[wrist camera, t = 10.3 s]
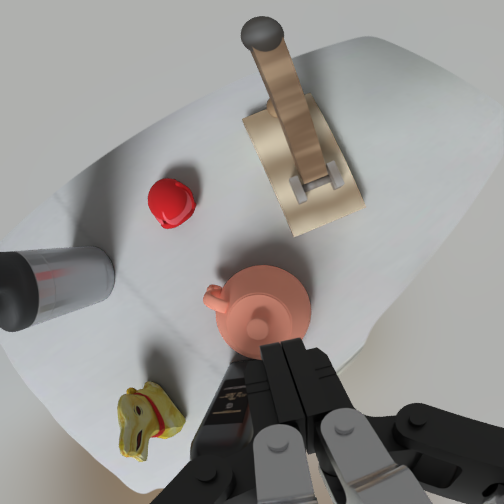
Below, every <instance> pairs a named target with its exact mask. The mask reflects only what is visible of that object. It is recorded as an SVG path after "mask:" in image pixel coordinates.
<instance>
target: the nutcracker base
mask: <svg viewBox="0 0 504 504" xmlns="http://www.w3.org/2000/svg"><path fill="white" fill-rule="evenodd" d="M304 96H305V99H306V102H307V105H308V108H309V112H310V115H311V118H312V121H313V124H314V128H315V131H316V134H317V137H318V141H319V144H320V148H321V151H322V155H323V158H324V162H325V165H326V169H327V173H328V175H326V176H324V177H321V178H319V179H316V180H314V181H311V182H309V183H306V184H304V182H303V181H302V179H301V177H300V176H299V174H298V171H297V169H296V166H295V163H294V160H293V157H292V155H291V152H290V149H289V146H288V144H287V141H286V138H285V136H284V133H283V130H282V128H281V125H280V122H279V120H278V117H277V114H276V112H275V109H274V107H273V104H272V102H271V99H269V100H268V101H267V109H265V110H263V111H260V112H258V113H255V114H253V115H251V116H248V117H246V118H244V119H242V121H243V123H244V126H245V128H246V130H247V132H248V134H249V136H250V139H251V141H252V143H253V145H254V147H255V150H256V152H257V154H258V156H259V158H260V160H261V163H262V165H263V167H264V169H265V172H266V174H267V176H268V178H269V181H270V183H271V185H272V187H273V190H274V192H275V194H276V197H277V199H278V201H279V203H280V206H281V208H282V210H283V213H284V215H285V217H286V220H287V222H288V224H289V227H290V229H291V232H292V234H293V236H294V237H296V236H299V235H301V234H304V233H306V232H308V231H311V230H313V229H316V228H318V227H320V226H323V225H325V224H327V223H330V222H332V221H335V220H337V219H339V218H342V217H344V216H347V215H349V214H351V213H354V212H356V211H358V210H361V209H363V208H366V206H365V203H364V201H363V198H362V196H361V194H360V191H359V189H358V187H357V185H356V182H355V180H354V178H353V176H352V174H351V171H350V169H349V167H348V165H347V163H346V161H345V158H344V156H343V154H342V152H341V150H340V148H339V146H338V144H337V142H336V140H335V138H334V136H333V134H332V132H331V130H330V128H329V126H328V124H327V122H326V120H325V119H324V117H323V115H322V113H321V111H320V109H319V107H318V106H317V104H316V102H315V100H314V98H313V96H312V95H311V93H308V94H305V95H304Z"/></svg>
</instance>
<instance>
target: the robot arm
mask: <svg viewBox="0 0 504 504" xmlns="http://www.w3.org/2000/svg"><path fill="white" fill-rule="evenodd" d="M113 285H114V269H113V266H112V263H111V261H110V259H109V257H108V256H107V255H106V253H105V252H103V251H102V250H101V249H99V248H97V247H94V246H86V247H69V248H54V249H39V250H27V251H14V252H0V328H2V329H3V330H5V331H8V332H16V331H20V330H23V329H25V328H28V327H31V326H34V325H36V324H39V323H42V322H45V321H47V320H50V319H53V318H56V317H59V316H62V315H64V314H67V313H70V312H73V311H76V310H79V309H82V308H84V307H87V306H90V305H93V304H96V303H99V302H101V301H104V300H105V299H106V298H107V297H108V296H109V295H110V293H111V291H112V289H113ZM259 347H260V353H261V359H262V360H257V361H252V362H248V363H247V366H246V368H245V371H244V378H245V384H246V390H247V396H248V402H249V408H250V413H251V419H252V424H253V437H252V439H251V441H250V443H249V444H248V445H247V446H246V447H245V448H244V449H243V450H241V451H239V452H238V453H235V454H233V455H231V456H229V457H226V458H224V459H223V458H221V457H219V456H215V455H202V456H199V457H196V458H194V459H192V460H191V461H190V462H189V463H187V465H186V466H185V467H184V468H183V469H182V470H181V471H180V472H179V473H178V474H177V476H176V477H175V478H174V479H173V480H172V481H171V482H170V483H169V484H168V485H167V486H166V487H165V488H164V489H163V491H162V492H161V493H160V494H159V495H158V496H157V497H156V498H155V499H154V500H153V501H152V502H151V503H150V504H318V501H317V498H316V497H315V495H314V490H313V486H312V481H311V476H310V471H309V466H308V462H307V457H306V450H307V453H308V454H312V453H316V456H317V458H318V461H319V472H320V474H321V477H322V479H323V481H324V484H325V486H326V488H327V490H328V492H329V495H330V497H331V499H332V502H333V504H432V502H431V501H430V499H429V498H428V496H427V495H426V493H425V491H428V492H430V493H434V494H436V495H439V496H442V497H446V498H449V499H452V500H455V501H459V502H462V503H466V504H504V428H502V427H497V426H494V425H490V424H487V423H483V422H480V421H476V420H473V419H470V418H466V417H463V416H460V415H456V414H453V413H450V412H447V411H444V410H441V409H438V408H435V407H432V406H429V405H426V404H422V403H413V404H409V405H406V406H404V407H403V408H402V409H401V410H400V411H399V412H398V413H397V415H396V416H386V417H370V416H366V415H364V414H362V413H361V412H359V411H357V410H356V409H355V408H354V407H353V405H352V403H351V401H350V399H349V397H348V395H347V393H346V391H345V389H344V388H343V386H342V383H341V381H340V380H339V378H338V376H337V375H336V372H335V370H334V368H333V367H332V364H331V362H330V360H329V358H328V356H327V355H326V354H325V353H324V352H322V351H321V350H320V349H318V348H313V349H308V350H306V349H305V346H304V344H303V342H302V339H301V338H300V337H299V338H294V339H290V340H285V341H281V342H280V343H279V342H276V343H271V344H266V345H261V346H259ZM424 490H425V491H424Z"/></svg>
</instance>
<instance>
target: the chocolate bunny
mask: <svg viewBox="0 0 504 504" xmlns="http://www.w3.org/2000/svg"><path fill="white" fill-rule="evenodd" d="M117 410H118V421H119V426H120V430H121V432H120V438H119V448H120V453H121V454H122V455H123V456H125V457H133V458H135V459H136V460H137V461H139V462H143V461H146V460H147V456H148V442H149V439H150V437H151V436H152V437H158V438H162V439H166V438H170V437H172V436H174V435H175V434H177V433H178V432H180V431H181V429H182V427H183V425H184V423H185V418H184V416H183V415H182V414H181V413H180V411H179V410H178V409H177V408H176V406H175V405H174V404H173V402H172V401H171V399H170V398H169V397H168V395H167V394H166V393H165V391H164V390H163V389H162V388H161V387H160V386H159V384H156V383H153V382H150V381H148V382H146V383H145V385H144V388H143V389H140V390H136V389H134V388H129V389H127V394H124V395H122V396H121V397H120V399H119V401H118V407H117Z"/></svg>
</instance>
